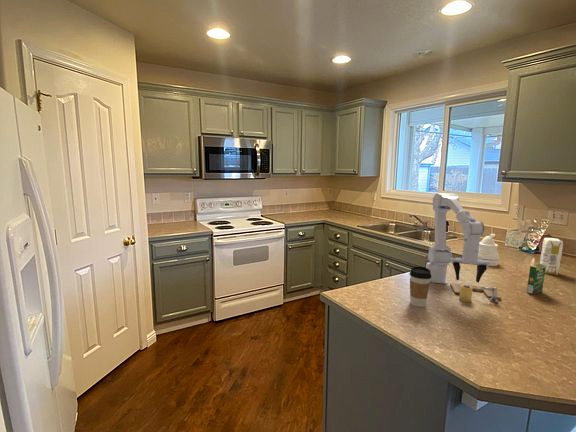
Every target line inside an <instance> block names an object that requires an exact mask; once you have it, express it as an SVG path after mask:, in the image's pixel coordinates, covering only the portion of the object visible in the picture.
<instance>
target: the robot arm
mask: <svg viewBox="0 0 576 432" xmlns="http://www.w3.org/2000/svg"><path fill="white" fill-rule="evenodd" d="M459 201H460V197H459V196H458V194H457V193H440V192H436V193H435V194H434V196H433V197H432V210H433V211H434V244H433V245H430V247H428V254H427V259H428V260H427V261H429V262H426V265H425V268H428V269H429V270H430V271H431V277H432V278H430V283H438V284H446V285H448V281H447V271H448V270H447V269H448V265H450V263H451V264H452V266H453V269H454V272H455V280H456V281H459V280H460V272H461V264H464V265H470V266H471V265H474V266H476V267H477V268H476V276H475V282H476V283H480V280H481V278H482V277H483V274H484V273H485V272H486V271H487V269H488V267H490V266H489V265H490V262H489V261H484V260H478V252H479V244H480V242H481V236H482V235H484V233H485V229H486V228H485V225H484V222H483V221H481V220H476V218H475V217H474V216H473V215H472V214H471V212H470V211H469V210H465V209H464V208H463V206H462V204H461V203H460V202H459ZM451 210H452V212H454V213H455V218H456V220H457V221H458V223H459V224H460V226H461V230H462V237H463V246H462V256H461V257H453V254H452V249H451V247H450V246H448V245H447V213H448V211H449V212H450V211H451Z"/></svg>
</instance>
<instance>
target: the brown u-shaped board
mask: <svg viewBox="0 0 576 432" xmlns="http://www.w3.org/2000/svg"><path fill="white" fill-rule="evenodd" d="M461 285H464V283H463V284H462V283H454V282H450V288H451V290H452V291H453V293H454V295H456V296H460V287H461ZM468 285H469V286H471V287H473V289H472V292H480V293H483V294H484V296H485V297H486V298H487V299H488V298H492V291H491V290H483V289H481V286H480V285H479V286H478V285H471V284H468ZM496 299H497V300H498V301H502V297H501V296H500V293H498V292H497V294H496Z"/></svg>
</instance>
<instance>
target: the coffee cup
mask: <svg viewBox="0 0 576 432" xmlns="http://www.w3.org/2000/svg"><path fill="white" fill-rule="evenodd" d="M409 276H410V278H409V296H410V297H409V301H410V305H412V306H414V307H417V308H424V307H426V304H427V299H428V294H429V289H430V286H431V282H430V278H432V277H431V271H430V270H429V269H428V268H426V266H425V267H424V266H412V267H411V268H410V271H409Z"/></svg>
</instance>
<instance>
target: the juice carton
mask: <svg viewBox="0 0 576 432" xmlns="http://www.w3.org/2000/svg"><path fill="white" fill-rule="evenodd" d="M563 249H564V241H563V240H561V239H559V238H553V237H544V238H543V241H542V245H541V252H540V253H541V254H540V258H539V264H542V265H546V269H545V275H546V274H547V275H548V274H549V275H554V276H557V275H559V271H560V267H561V261H562V254H563Z"/></svg>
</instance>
